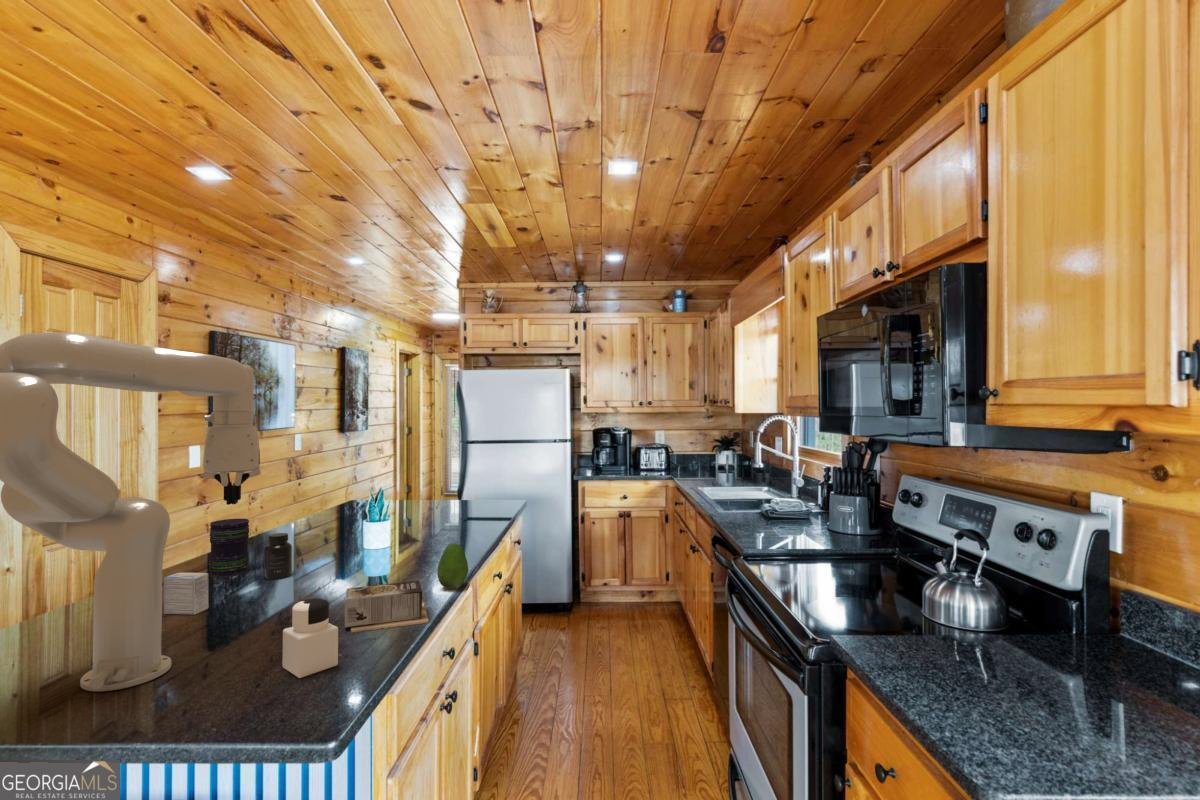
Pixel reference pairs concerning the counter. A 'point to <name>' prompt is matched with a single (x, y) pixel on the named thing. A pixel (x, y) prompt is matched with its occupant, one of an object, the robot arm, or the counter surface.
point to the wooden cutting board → (393, 623)
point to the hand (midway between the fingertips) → (232, 503)
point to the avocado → (452, 567)
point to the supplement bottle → (278, 557)
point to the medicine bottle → (310, 639)
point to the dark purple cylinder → (229, 547)
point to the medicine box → (186, 593)
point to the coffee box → (383, 603)
